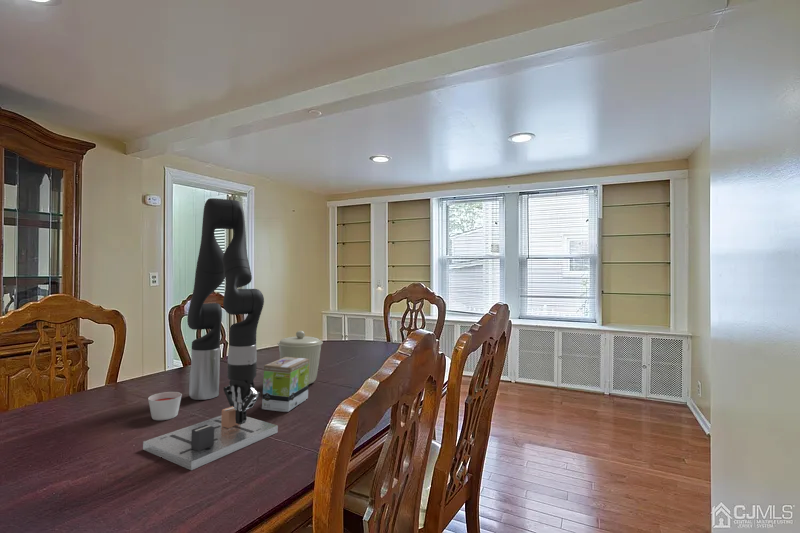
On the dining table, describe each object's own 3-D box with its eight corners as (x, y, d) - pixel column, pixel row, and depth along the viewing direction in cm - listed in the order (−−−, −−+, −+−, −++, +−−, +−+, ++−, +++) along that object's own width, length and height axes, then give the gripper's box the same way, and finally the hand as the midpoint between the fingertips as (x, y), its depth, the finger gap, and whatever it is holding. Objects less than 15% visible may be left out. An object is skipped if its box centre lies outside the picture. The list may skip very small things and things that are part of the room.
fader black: (191, 448, 100) (191, 429, 100) (206, 442, 104) (206, 424, 104) (198, 451, 99) (199, 431, 99) (213, 445, 102) (214, 426, 102)
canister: (298, 391, 155) (300, 335, 155) (266, 383, 164) (267, 331, 165) (331, 381, 170) (332, 330, 170) (299, 374, 180) (300, 326, 180)
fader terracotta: (221, 425, 115) (221, 409, 115) (233, 421, 118) (233, 405, 118) (228, 428, 113) (228, 411, 113) (240, 423, 117) (240, 407, 117)
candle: (187, 414, 129) (188, 394, 129) (160, 424, 121) (161, 402, 121) (168, 409, 133) (169, 390, 133) (141, 418, 124) (141, 397, 124)
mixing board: (142, 449, 104) (143, 441, 104) (231, 418, 126) (231, 411, 126) (191, 470, 94) (191, 461, 94) (277, 432, 116) (277, 425, 116)
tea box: (289, 412, 132) (290, 367, 132) (261, 410, 134) (262, 364, 134) (309, 398, 147) (310, 357, 147) (283, 396, 149) (284, 355, 149)
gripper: (215, 360, 114) (213, 422, 114) (247, 366, 107) (245, 433, 107) (237, 355, 121) (236, 414, 120) (269, 361, 114) (268, 423, 114)
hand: (240, 423), depth 114 cm, fingers closed
